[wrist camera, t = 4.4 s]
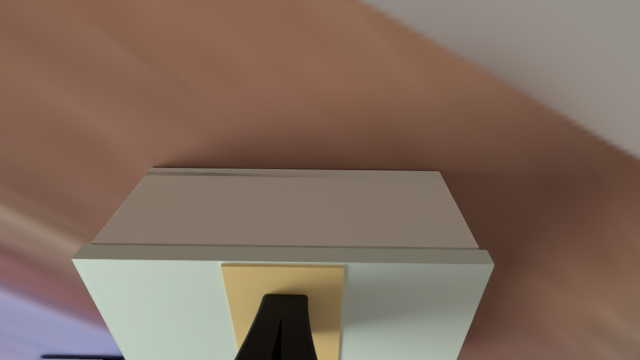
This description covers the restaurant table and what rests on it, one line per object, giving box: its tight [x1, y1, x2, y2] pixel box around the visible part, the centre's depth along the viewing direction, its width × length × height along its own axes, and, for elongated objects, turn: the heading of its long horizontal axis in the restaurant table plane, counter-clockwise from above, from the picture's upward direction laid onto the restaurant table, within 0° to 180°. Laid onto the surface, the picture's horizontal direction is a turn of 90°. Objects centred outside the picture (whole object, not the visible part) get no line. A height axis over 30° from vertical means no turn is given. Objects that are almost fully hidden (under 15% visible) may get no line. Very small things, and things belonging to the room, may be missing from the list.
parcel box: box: [91, 168, 479, 250], centre depth 16 cm, size 12×12×4 cm
